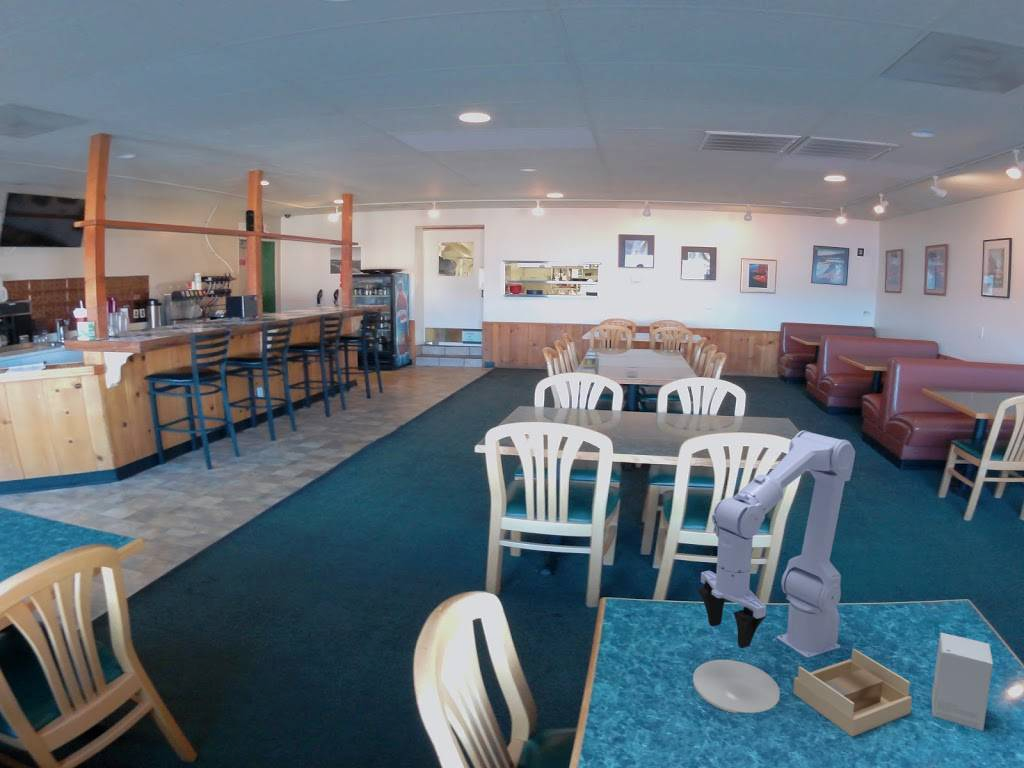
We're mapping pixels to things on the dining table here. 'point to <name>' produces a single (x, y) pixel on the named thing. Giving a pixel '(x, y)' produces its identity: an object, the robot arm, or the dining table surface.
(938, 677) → the supplement box
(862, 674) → the brown rectangular block
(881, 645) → the dining table surface
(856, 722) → the wooden tray
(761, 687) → the plate
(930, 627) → the dining table surface
